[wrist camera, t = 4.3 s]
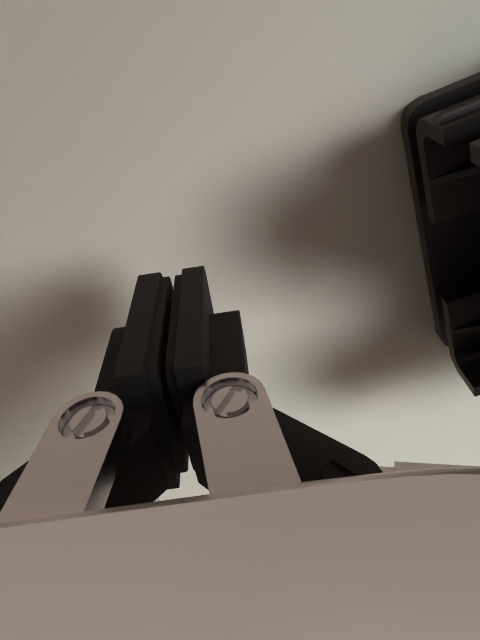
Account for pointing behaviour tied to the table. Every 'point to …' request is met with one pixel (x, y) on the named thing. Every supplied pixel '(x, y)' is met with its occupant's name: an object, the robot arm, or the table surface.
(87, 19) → the table surface
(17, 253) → the table surface
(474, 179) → the end cap
